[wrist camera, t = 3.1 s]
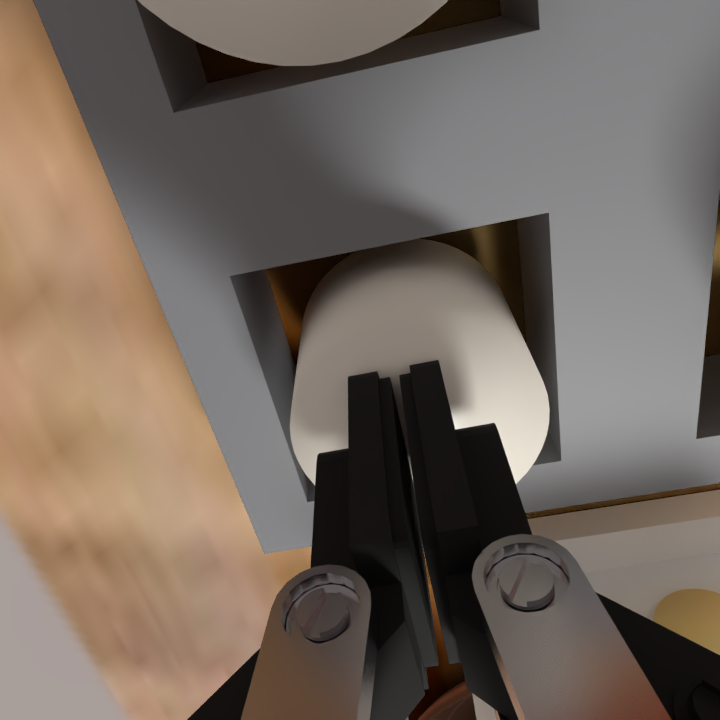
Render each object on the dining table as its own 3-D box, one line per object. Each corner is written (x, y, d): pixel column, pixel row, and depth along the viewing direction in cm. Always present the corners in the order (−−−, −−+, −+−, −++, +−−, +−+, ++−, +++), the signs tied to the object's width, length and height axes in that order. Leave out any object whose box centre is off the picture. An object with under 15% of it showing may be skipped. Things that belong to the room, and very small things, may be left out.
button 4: (499, 218, 13) (542, 292, 10) (516, 401, 16) (555, 502, 13) (277, 262, 14) (258, 345, 11) (327, 433, 16) (323, 538, 13)
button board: (1329, -888, 8) (1825, -1318, 5) (930, 363, 17) (1033, 434, 14) (-59, -437, 9) (-212, -586, 7) (275, 473, 19) (264, 553, 16)
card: (758, 483, 19) (1082, 898, 11) (746, 550, 21) (1021, 958, 12) (428, 534, 20) (486, 951, 12) (441, 595, 22) (500, 1002, 13)
